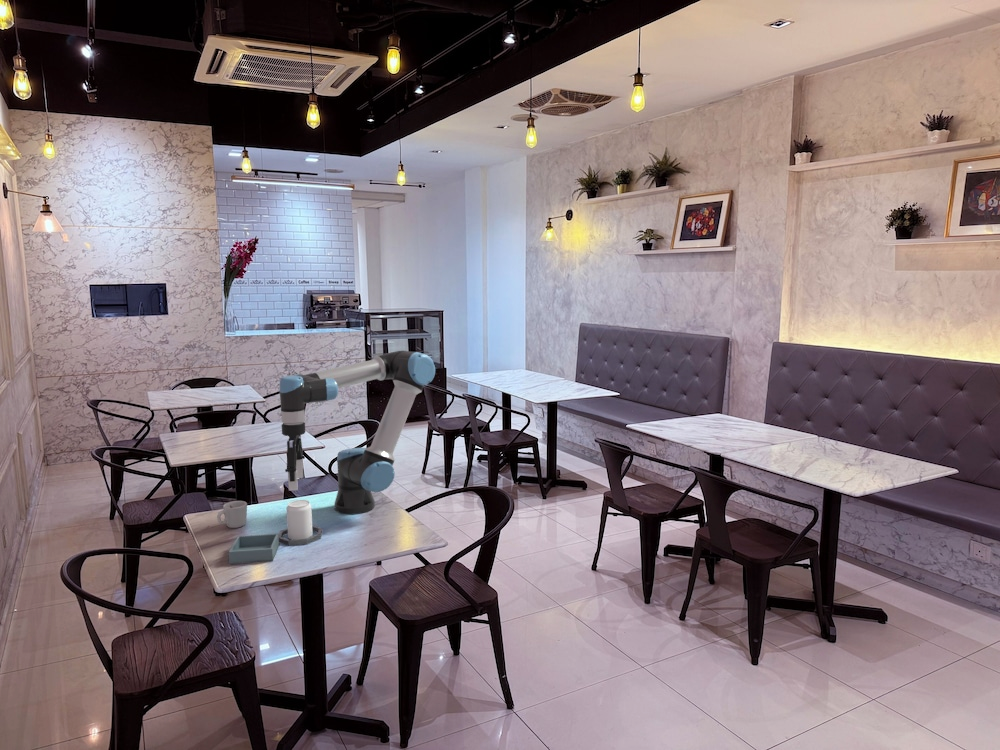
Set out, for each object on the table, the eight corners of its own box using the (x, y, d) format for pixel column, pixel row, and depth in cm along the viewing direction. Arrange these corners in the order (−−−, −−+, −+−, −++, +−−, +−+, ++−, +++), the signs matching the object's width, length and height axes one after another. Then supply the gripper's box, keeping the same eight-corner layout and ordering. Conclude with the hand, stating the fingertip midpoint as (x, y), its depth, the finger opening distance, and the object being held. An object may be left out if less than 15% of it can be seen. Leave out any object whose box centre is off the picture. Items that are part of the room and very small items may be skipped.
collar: (323, 528, 236) (323, 524, 236) (319, 543, 223) (319, 539, 223) (282, 530, 234) (282, 526, 234) (275, 546, 220) (275, 542, 220)
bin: (279, 545, 222) (278, 533, 221) (272, 561, 209) (272, 549, 208) (238, 547, 219) (237, 536, 219) (229, 564, 207) (228, 551, 206)
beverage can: (305, 542, 224) (303, 508, 222) (283, 540, 225) (281, 506, 224) (316, 533, 232) (315, 500, 230) (295, 531, 233) (293, 498, 231)
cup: (224, 534, 231) (223, 511, 230) (212, 528, 236) (211, 507, 235) (252, 524, 240) (251, 503, 239) (240, 520, 245) (239, 499, 243)
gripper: (287, 415, 234) (290, 473, 238) (274, 431, 210) (278, 496, 213) (309, 414, 236) (312, 472, 239) (299, 430, 211) (302, 495, 214)
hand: (296, 484), depth 226 cm, fingers open, 13 cm apart
